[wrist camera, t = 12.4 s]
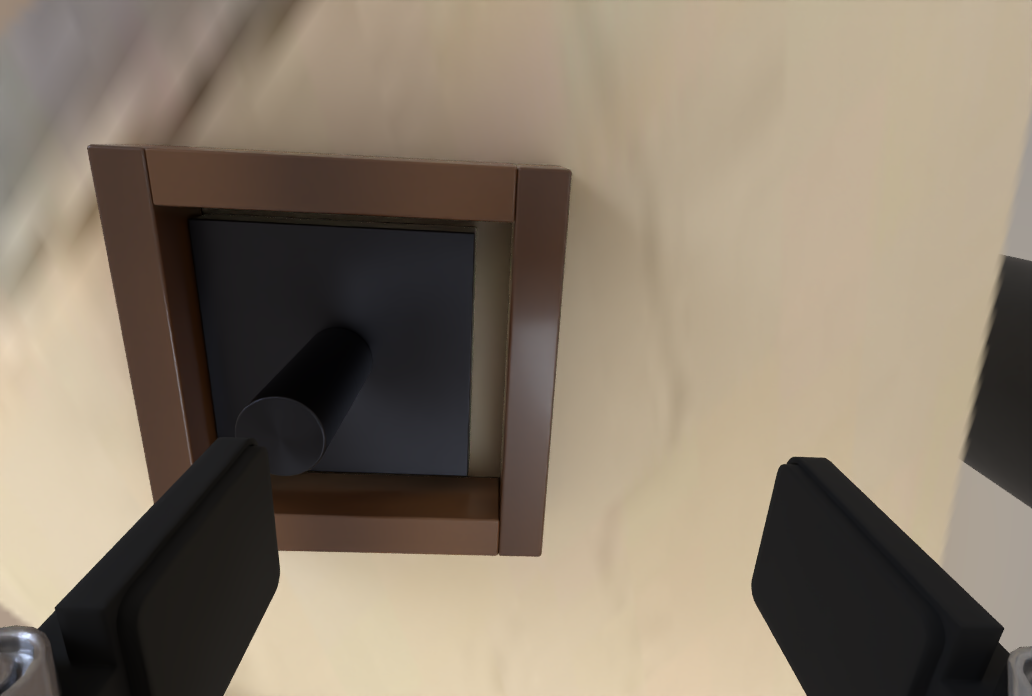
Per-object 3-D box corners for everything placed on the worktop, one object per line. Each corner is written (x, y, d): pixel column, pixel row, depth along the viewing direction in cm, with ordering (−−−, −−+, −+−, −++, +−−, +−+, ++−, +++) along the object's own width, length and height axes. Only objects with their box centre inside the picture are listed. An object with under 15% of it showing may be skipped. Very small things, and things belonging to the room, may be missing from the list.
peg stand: (476, 227, 17) (465, 268, 12) (469, 458, 20) (457, 586, 14) (207, 213, 17) (55, 249, 11) (236, 450, 20) (125, 579, 14)
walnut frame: (562, 166, 17) (572, 169, 15) (536, 511, 21) (541, 557, 19) (144, 144, 16) (84, 144, 14) (200, 502, 20) (160, 549, 18)
